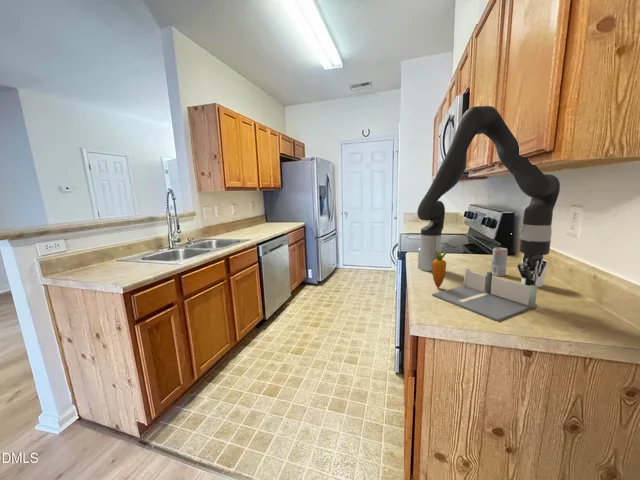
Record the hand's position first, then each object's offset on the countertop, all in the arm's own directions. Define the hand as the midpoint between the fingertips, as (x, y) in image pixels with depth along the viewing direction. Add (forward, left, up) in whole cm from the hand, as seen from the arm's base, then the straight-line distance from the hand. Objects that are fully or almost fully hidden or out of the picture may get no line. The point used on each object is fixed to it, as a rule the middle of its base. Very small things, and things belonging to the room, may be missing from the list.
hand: (529, 290), depth 87 cm
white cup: (-9, +21, -5) cm, 23 cm away
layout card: (-9, -11, -4) cm, 15 cm away
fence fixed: (-15, -4, -4) cm, 16 cm away
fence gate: (-3, -4, -3) cm, 6 cm away
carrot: (-25, -13, -5) cm, 28 cm away
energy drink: (-23, +23, -5) cm, 33 cm away
